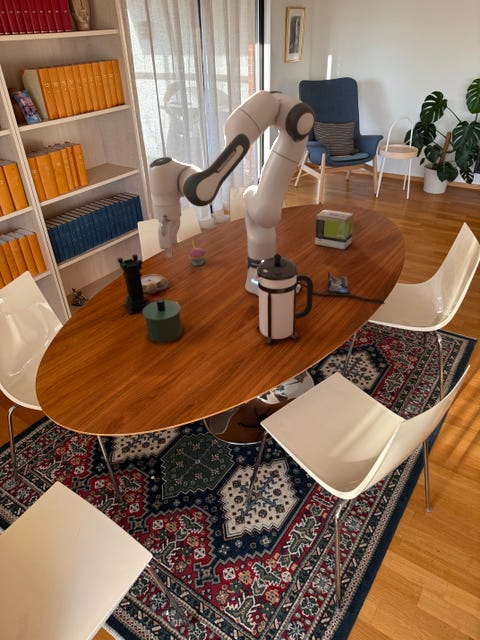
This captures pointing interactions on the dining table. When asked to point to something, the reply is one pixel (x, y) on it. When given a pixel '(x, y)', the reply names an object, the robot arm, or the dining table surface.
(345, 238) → the tea box
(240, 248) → the dining table surface
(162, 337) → the green hollow cylinder
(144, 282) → the alarm clock
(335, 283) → the snack package
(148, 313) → the lid
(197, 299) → the dining table surface
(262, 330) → the coffee press
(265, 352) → the dining table surface
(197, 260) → the cupcake
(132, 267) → the chess piece
